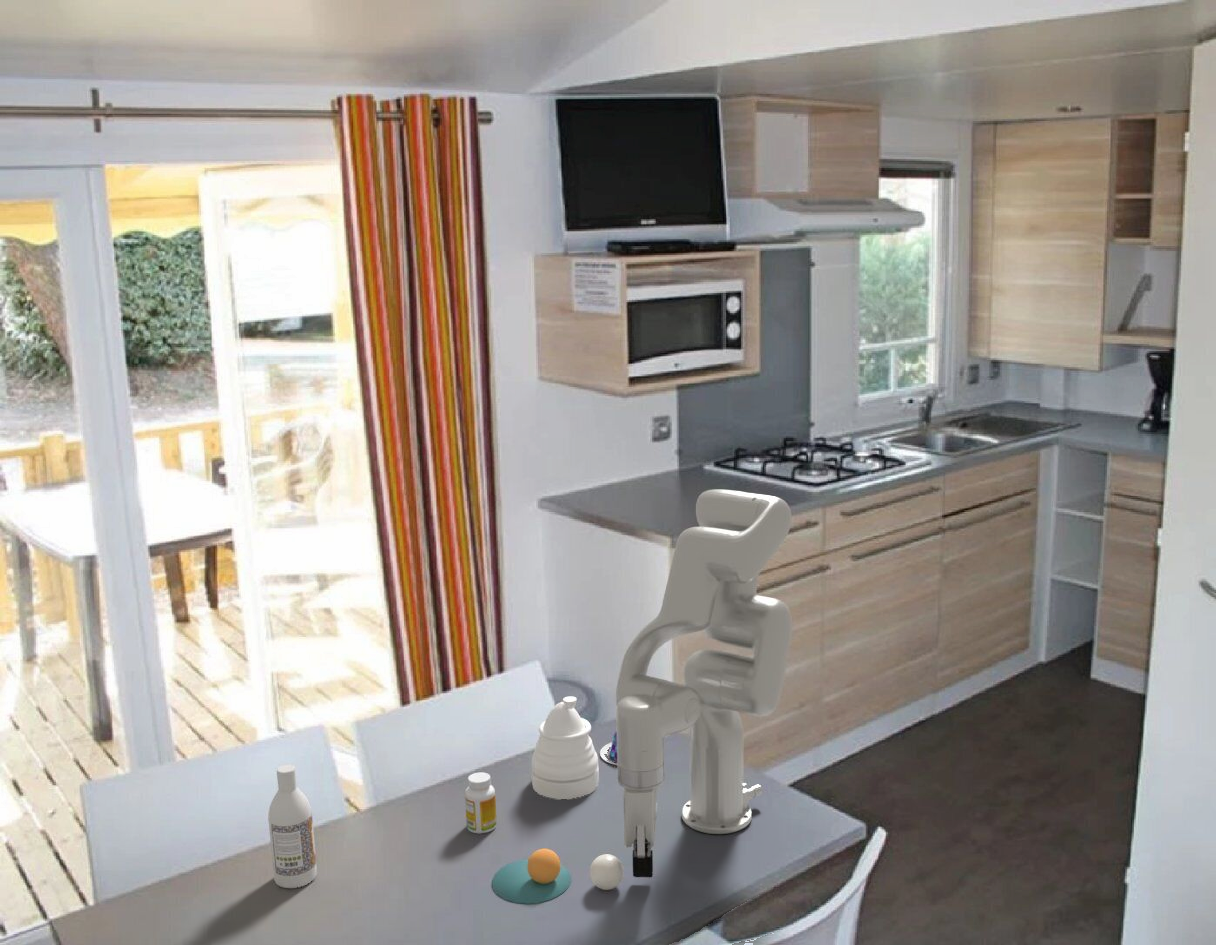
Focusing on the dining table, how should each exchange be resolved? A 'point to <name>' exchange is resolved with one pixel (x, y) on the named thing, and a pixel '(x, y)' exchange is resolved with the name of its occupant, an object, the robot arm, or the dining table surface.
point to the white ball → (606, 872)
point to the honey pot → (564, 755)
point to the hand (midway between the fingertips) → (642, 874)
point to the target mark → (527, 884)
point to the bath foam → (291, 833)
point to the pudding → (613, 749)
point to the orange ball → (544, 866)
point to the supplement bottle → (480, 804)
